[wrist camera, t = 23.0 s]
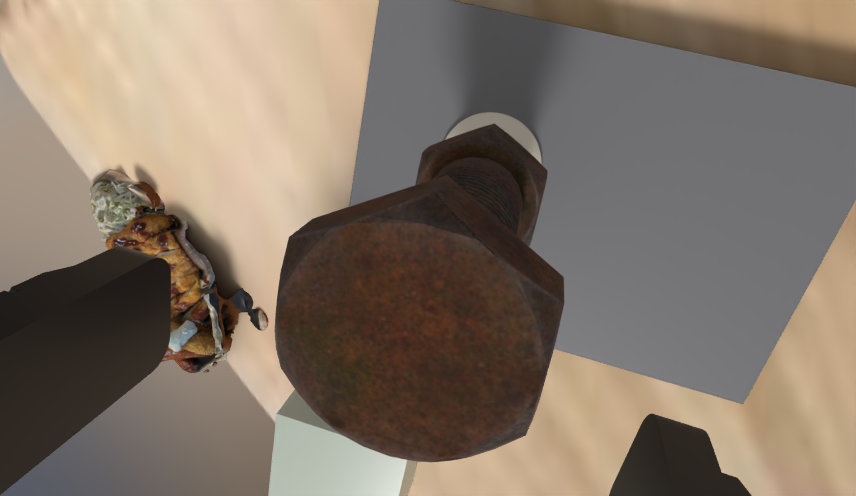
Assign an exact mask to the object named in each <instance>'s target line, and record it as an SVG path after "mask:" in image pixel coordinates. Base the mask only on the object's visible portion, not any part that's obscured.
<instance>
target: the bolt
mask: <svg viewBox="0 0 856 496" xmlns="http://www.w3.org/2000/svg"><path fill="white" fill-rule="evenodd" d="M547 172H548V171H547V170H546V168H545V167H544V166H543V165H542V164H541V163H540V162H539V161H538V160H537V159H536V158H535V157H534V156H533V155H532V154H531V153H529V152H528V151H527V150H526V149H525V148H524V147H523V146H522V145H521V144H520V143H518V142H517V141H516V140H515V139H514V138H513V137H511V136H510V135H509V134H508V133H506V132H505V131H504V130H503V129H501V128H500V127H499V126H497V125H496V124H495V123H494V124H491V125H487V126H484V127H481V128H477V129H474V130H471V131H468V132H465V133H462V134H460V135H457V136H454V137H451V138H448V139H446V140H443V141H441V142H438V143H436V144H433V145H431V146H429V147H427V148H426V149H425V150H424V151H423V152H422V156H421V160H420V164H419V169H418V174H417V179H416V184H415V186H411V187H408V188H405V189H402V190H399V191H396V192H393V193H390V194H387V195H384V196H381V197H378V198H375V199H372V200H368V201H365V202H362V203H359V204H356V205H353V206H350V207H347V208H344V209H341V210H338V211H335V212H332V213H329V214H326V215H323V216H320V217H317V218H314V219H312V220H311V221H309V222H308V223H307V224H306V225H304V226H303V227H302V228H300V229H299V230H298V231H296V232H295V233H294V234H293V235H291V236H290V237H289V240H288V244H287V248H286V252H285V256H284V260H283V265H282V269H281V274H280V281H279V288H278V296H277V306H276V317H275V340H276V350H277V354H278V358H279V362H280V366H281V369H282V370H283V372H284V373H285V375H286V376H287V378H288V379H289V381H290V382H291V384H292V385H293V387H294V388H295V389H296V391H297V392H298V394H299V395H300V396H301V397H302V399H303V400H304V401H305V402H306V403H307V404H308V406H309V407H310V408H311V409H312V410H313V411H314V412H315V413H316V414H317V415H318V416H319V417H320V418H321V419H322V420H323V421H325V422H326V423H327V424H328V425H329V426H331V427H332V428H333V429H335V430H336V431H337V432H339V433H340V434H341V435H343V436H345V437H346V438H348V439H350V440H352V441H354V442H356V443H358V444H359V445H361V446H363V447H366V448H368V449H371V450H374V451H376V452H379V453H382V454H384V455H387V456H390V457H395V458H400V459H405V460H410V461H418V462H439V461H451V460H457V459H462V458H467V457H471V456H474V455H477V454H480V453H484V452H487V451H490V450H493V449H496V448H498V447H500V446H503V445H505V444H507V443H509V442H512V441H514V440H516V439H519V438H521V437H523V436H525V435H526V433H527V431H528V429H529V427H530V424H531V422H532V420H533V417H534V415H535V412H536V409H537V406H538V403H539V400H540V396H541V393H542V389H543V386H544V382H545V379H546V375H547V371H548V368H549V364H550V361H551V357H552V354H553V350H554V346H555V343H556V339H557V334H558V330H559V325H560V321H561V316H562V312H563V307H564V277H563V276H562V275H561V274H560V273H559V272H557V271H556V270H555V269H554V268H553V267H552V266H551V265H549V264H548V263H547V262H546V261H545V260H544V259H543V258H541V257H540V256H539V255H538V254H537V253H536V252H534V251H533V250H532V249H531V248H530V247H529V246H530V244H531V241H532V237H533V234H534V230H535V226H536V222H537V218H538V214H539V210H540V206H541V202H542V198H543V194H544V190H545V185H546V181H547Z"/></svg>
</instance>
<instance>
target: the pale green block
mask: <svg viewBox="0 0 856 496" xmlns="http://www.w3.org/2000/svg"><path fill="white" fill-rule="evenodd" d="M416 465H417V461H410V460H405V459H400V458H395V457H390V456H387V455H384V454H382V453H379V452H376V451H374V450H371V449H368V448H366V447H363V446H361V445H359V444H358V443H356V442H354V441H352V440H350V439H348V438H346V437H345V436H343V435H341V434H340V433H339V432H337V431H336V430H335V429H333V428H332V427H331V426H329V425H328V424H327V423H326V422H325V421H323V420H322V419H321V418H320V417H319V416H318V415H317V414H316V413H315V412H314V411H313V410H312V409H311V408H310V407H309V406H308V404H307V403H306V402H305V401H304V400H303V399H302V397H301V396H300V395H299V394H298V392H297V391H296V389H295V390H294V391H293V393H292V394H291V395H290V397H289V398H288V399H287V401H286V402H285V403H284V405H283V406H282V407H281V409H280V410H279V411H278V413H277V417H276V426H275V436H274V447H273V456H272V466H271V476H270V486H269V495H268V496H408V494H409V491H410V488H411V485H412V481H413V477H414V473H415V469H416Z"/></svg>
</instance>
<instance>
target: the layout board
mask: <svg viewBox="0 0 856 496" xmlns="http://www.w3.org/2000/svg"><path fill="white" fill-rule="evenodd" d="M494 123H495V124H496V125H497V126H499V127H500V128H501V129H503V130H504V131H505V132H506V133H508V134H509V135H510V136H511V137H513V138H514V139H515V140H516V141H517V142H518V143H520V144H521V145H522V146H523V147H524V148H525V149H526V150H527V151H528V152H529V153H531V154H532V155H533V156H534V157H535V158H536V159H537V160H538V161H539V162H540V163H541V164H542V165H543V166H544V167H545V168H546V170H547V171H548V172H547V181H546V185H545V190H544V194H543V198H542V202H541V206H540V210H539V214H538V218H537V222H536V226H535V230H534V234H533V237H532V241H531V244H530V246H529V247H530V248H531V249H532V250H533V251H534V252H536V253H537V254H538V255H539V256H540V257H541V258H543V259H544V260H545V261H546V262H547V263H548V264H549V265H551V266H552V267H553V268H554V269H555V270H556V271H557V272H559V273H560V274H561V275H562V276H563V277H564V307H563V312H562V316H561V321H560V325H559V330H558V334H557V339H556V343H555V346H554V349H557V350H560V351H563V352H567V353H570V354H574V355H577V356H580V357H584V358H587V359H591V360H594V361H597V362H601V363H604V364H608V365H611V366H614V367H618V368H621V369H625V370H628V371H631V372H635V373H638V374H642V375H645V376H648V377H652V378H655V379H659V380H662V381H665V382H669V383H672V384H676V385H679V386H682V387H686V388H689V389H693V390H696V391H699V392H703V393H706V394H710V395H713V396H717V397H720V398H723V399H727V400H730V401H734V402H737V403H740V404H743V403H744V402H745V400H746V398H747V396H748V394H749V393H750V391H751V389H752V387H753V385H754V383H755V382H756V380H757V378H758V376H759V374H760V373H761V371H762V369H763V367H764V365H765V364H766V362H767V360H768V358H769V356H770V354H771V353H772V351H773V349H774V347H775V345H776V344H777V342H778V340H779V338H780V336H781V335H782V333H783V331H784V329H785V327H786V325H787V324H788V322H789V320H790V318H791V316H792V315H793V313H794V311H795V309H796V307H797V305H798V304H799V302H800V300H801V298H802V296H803V295H804V293H805V291H806V289H807V287H808V286H809V284H810V282H811V280H812V278H813V276H814V275H815V273H816V271H817V269H818V267H819V266H820V264H821V262H822V260H823V258H824V257H825V255H826V253H827V251H828V249H829V247H830V246H831V244H832V242H833V240H834V238H835V237H836V235H837V233H838V231H839V229H840V227H841V226H842V224H843V222H844V220H845V218H846V217H847V215H848V213H849V211H850V209H851V208H852V206H853V204H854V202H855V200H856V87H853V86H848V85H843V84H839V83H834V82H829V81H825V80H820V79H815V78H811V77H806V76H801V75H797V74H792V73H787V72H783V71H778V70H773V69H769V68H764V67H759V66H755V65H750V64H745V63H741V62H736V61H731V60H727V59H722V58H717V57H713V56H708V55H703V54H699V53H694V52H690V51H685V50H680V49H676V48H671V47H666V46H662V45H657V44H652V43H648V42H643V41H638V40H634V39H629V38H624V37H620V36H615V35H610V34H606V33H601V32H596V31H592V30H587V29H582V28H578V27H573V26H568V25H564V24H559V23H554V22H550V21H545V20H540V19H536V18H531V17H526V16H522V15H517V14H512V13H508V12H503V11H498V10H494V9H489V8H484V7H480V6H475V5H470V4H466V3H461V2H456V1H452V0H379V6H378V13H377V20H376V27H375V34H374V41H373V48H372V54H371V61H370V68H369V75H368V82H367V89H366V96H365V102H364V109H363V116H362V123H361V130H360V137H359V144H358V151H357V157H356V164H355V171H354V178H353V185H352V192H351V199H350V205H349V207H350V206H353V205H356V204H359V203H362V202H365V201H368V200H372V199H375V198H378V197H381V196H384V195H387V194H390V193H393V192H396V191H399V190H402V189H405V188H408V187H411V186H415V184H416V179H417V174H418V169H419V164H420V160H421V156H422V152H423V151H424V150H425V149H426V148H427V147H429V146H431V145H433V144H436V143H438V142H441V141H443V140H446V139H448V138H451V137H454V136H457V135H460V134H462V133H465V132H468V131H471V130H474V129H477V128H481V127H484V126H487V125H491V124H494Z"/></svg>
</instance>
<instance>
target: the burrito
mask: <svg viewBox="0 0 856 496" xmlns="http://www.w3.org/2000/svg"><path fill="white" fill-rule="evenodd" d="M89 195H90V198H91V199H90V201H91V208H92V209H93V215H94V217H95V219H96V221H97V224H98V229H99V230H100V231H102V232H103V234H104V237H103V238H102V240H103V241H104V242H105V243H106V246H107V247H108V250H109V249H111V248H114V247H117V246H124V247H128V248H131V249H134V250H137V251H140V252H143V253H147V254H150V255H153V256H156V257H159V258H162V259H164V260H166V261H167V262H168V264H169V266H170V270H171V331H170V342H169V346H168V349H167V351H166V354H165V356H164V358H163V359H162V361H166V360H175V361H176V363H177V364H178V365H179V366H180V367H181V368H182V369H183V370H185V371H187V372H189V373H196V372H200V371H203V370H204V369H207V368H208V367H209V366H211V365H212V366H213V367H214V366H216V364H217V362H216V361H219V360H221V361H222V360H225V359H226V356H227V354H226V352H228V351H229V350H230V347H231V342H232V338H231V337H230V336H231V334H232V333H234V332H233V330H234V329H235V326H234V325H236V324H237V323H238V321H237V319H238V313H241V312H248V315H249V316H250V317H251V320H250V321H251V322H252V323H253V325H254V326H255V327H256V328H257V329H258V330H261V331H262V330H265V329H266V328H267V326H268V318H267V316H266V314H265V313H264V312H263V311H262V310H260V309H252V306H253V299H252V297H251V296H250V295H249V294H248V293H247V292H245V291H244V290H243V288H242V290H239V291H237V293H236V294H235V295H234V296H233V297H232V298H230V299H229V300H228V301H227V300H226V299H225V300H224V299H223V298H222V297H220V296H219V295H218V294H217V287H216V286H215V285H216V284H217V282H216V281H215V279H214V278H215V275H214V273H213V271H212V268H211V264H210V263H209V261H208V260H207V258H206V256H205V255H204V254H201V253H198V252H197V251H196V250H195V248H194V247H193V246H192V245H191V244H190V243H189V241H188V240H186V239H185V230H186V229H187V228H188V225H187V222H185V221H183V220H181V219H179V218H178V217H176V216H175V215H168V216H166V215H165V214H164V210H165V206H164V203H163V202H162V200H161V199H160V197H159V196H158V194H157V193H156V192H155V190H154V189H153V188H152V187H151V186H150V185H149V184H147V183H145V182H134V181H133V180H131V179H130V178H129V177H128V176H127V175H126V174H124V173H122V172H119V171H113V170H109V171H108V172H107V173H106V174H105V175H103V176H102V177H101V178H100V179H99V180H98V181H97V182H96V183H95V184H94V185H93V186H92V187H91V188H90V192H89ZM162 361H161V362H162ZM212 363H213V364H212ZM207 372H209V370H208V369H207V370H205V371H204V373H207Z"/></svg>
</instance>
